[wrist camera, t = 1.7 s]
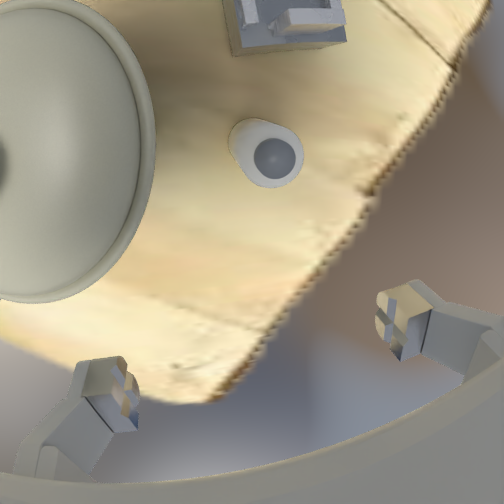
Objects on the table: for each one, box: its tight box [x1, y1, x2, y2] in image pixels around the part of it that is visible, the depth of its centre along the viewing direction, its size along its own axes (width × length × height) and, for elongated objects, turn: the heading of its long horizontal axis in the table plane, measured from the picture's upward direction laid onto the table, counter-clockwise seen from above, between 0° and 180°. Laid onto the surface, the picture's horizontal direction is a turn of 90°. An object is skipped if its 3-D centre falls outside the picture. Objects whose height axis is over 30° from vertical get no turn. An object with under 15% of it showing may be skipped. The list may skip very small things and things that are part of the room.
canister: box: [0, 0, 156, 304], centre depth 17 cm, size 18×18×21 cm
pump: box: [228, 118, 304, 188], centre depth 26 cm, size 5×5×9 cm
